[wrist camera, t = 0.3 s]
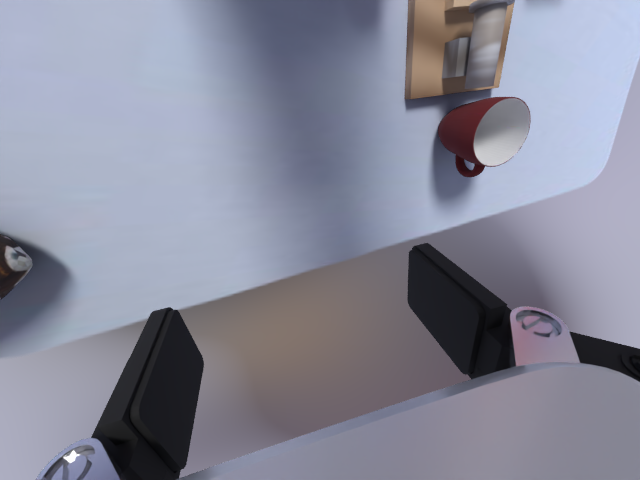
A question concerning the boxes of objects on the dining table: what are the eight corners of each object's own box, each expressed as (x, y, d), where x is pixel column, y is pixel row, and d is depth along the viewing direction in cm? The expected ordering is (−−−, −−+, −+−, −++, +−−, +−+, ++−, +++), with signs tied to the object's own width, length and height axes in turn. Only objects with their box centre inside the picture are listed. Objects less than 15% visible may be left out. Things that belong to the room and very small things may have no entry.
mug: (472, 159, 45) (526, 172, 36) (429, 176, 44) (473, 193, 36) (472, 90, 40) (534, 86, 31) (423, 109, 39) (472, 110, 31)
